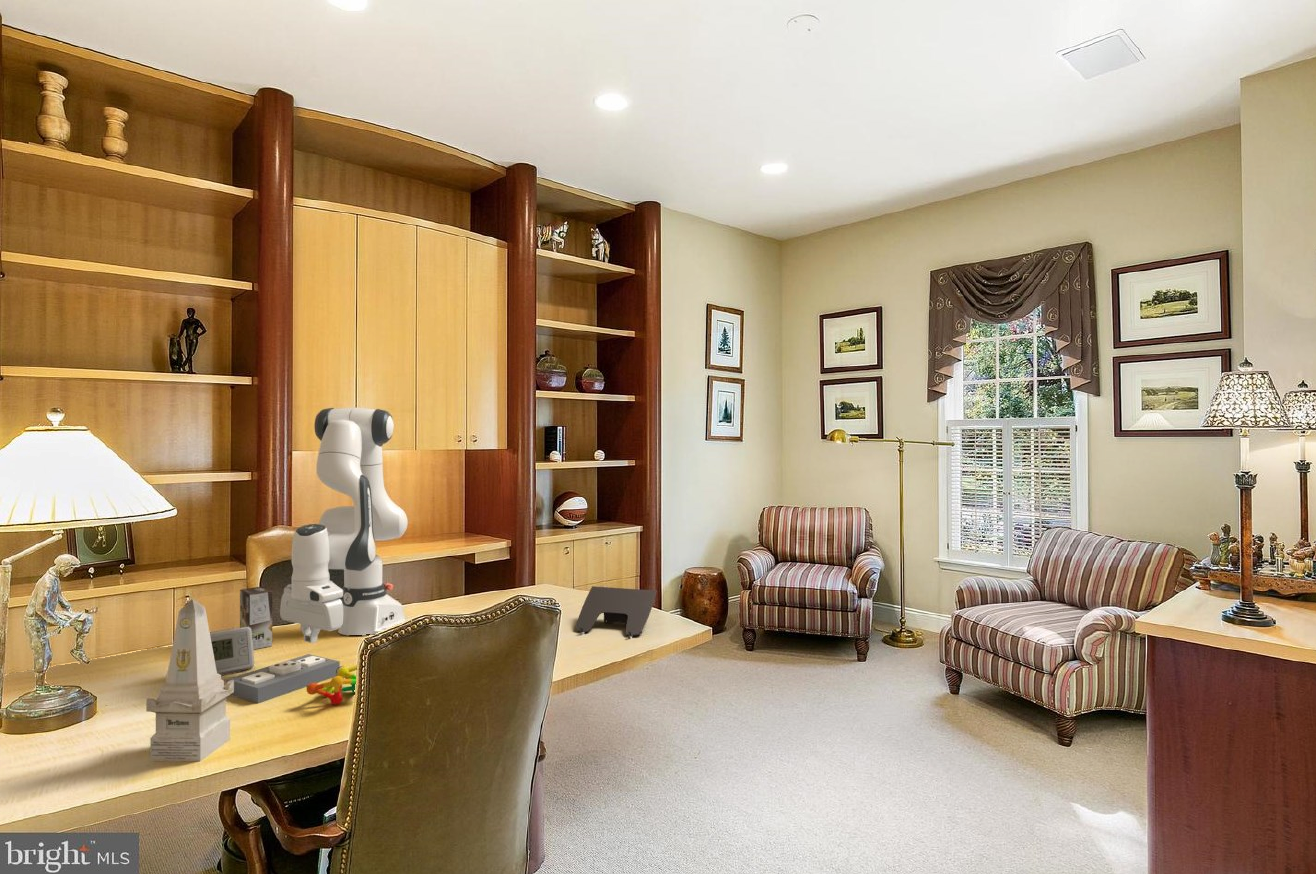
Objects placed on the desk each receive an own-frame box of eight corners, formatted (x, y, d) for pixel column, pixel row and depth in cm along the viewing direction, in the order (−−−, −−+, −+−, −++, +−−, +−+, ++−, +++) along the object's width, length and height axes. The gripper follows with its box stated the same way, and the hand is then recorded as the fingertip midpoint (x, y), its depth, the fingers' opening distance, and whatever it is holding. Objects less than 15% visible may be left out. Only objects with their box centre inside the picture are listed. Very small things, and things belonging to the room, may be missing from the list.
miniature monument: (146, 761, 136) (146, 604, 136) (182, 738, 147) (183, 592, 146) (201, 762, 136) (202, 605, 136) (233, 738, 147) (234, 592, 146)
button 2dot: (312, 667, 187) (312, 655, 187) (325, 670, 185) (325, 658, 185) (295, 672, 183) (295, 660, 183) (308, 676, 181) (308, 663, 181)
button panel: (308, 667, 190) (308, 654, 190) (339, 674, 185) (339, 661, 185) (226, 693, 171) (226, 679, 171) (258, 703, 165) (258, 688, 165)
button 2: (287, 672, 181) (288, 659, 181) (300, 675, 179) (301, 662, 179) (269, 678, 177) (269, 665, 177) (282, 681, 174) (282, 668, 174)
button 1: (261, 683, 175) (261, 671, 175) (274, 687, 173) (274, 674, 173) (241, 690, 170) (241, 677, 170) (254, 694, 168) (254, 680, 168)
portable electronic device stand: (573, 649, 228) (569, 627, 224) (594, 602, 248) (591, 581, 244) (643, 656, 223) (640, 633, 219) (659, 607, 243) (656, 585, 239)
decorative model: (293, 688, 165) (341, 652, 178) (308, 721, 166) (355, 684, 179) (333, 682, 159) (379, 646, 173) (348, 717, 161) (393, 679, 174)
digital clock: (179, 684, 177) (179, 641, 177) (181, 673, 185) (181, 632, 184) (254, 673, 185) (255, 632, 185) (253, 663, 193) (253, 624, 193)
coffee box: (273, 646, 208) (273, 591, 208) (249, 651, 203) (249, 594, 203) (262, 639, 214) (262, 585, 214) (238, 644, 209) (238, 589, 209)
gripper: (273, 585, 186) (273, 638, 187) (326, 597, 177) (326, 652, 177) (295, 580, 192) (295, 631, 192) (347, 591, 182) (347, 645, 183)
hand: (310, 641), depth 185 cm, fingers closed
